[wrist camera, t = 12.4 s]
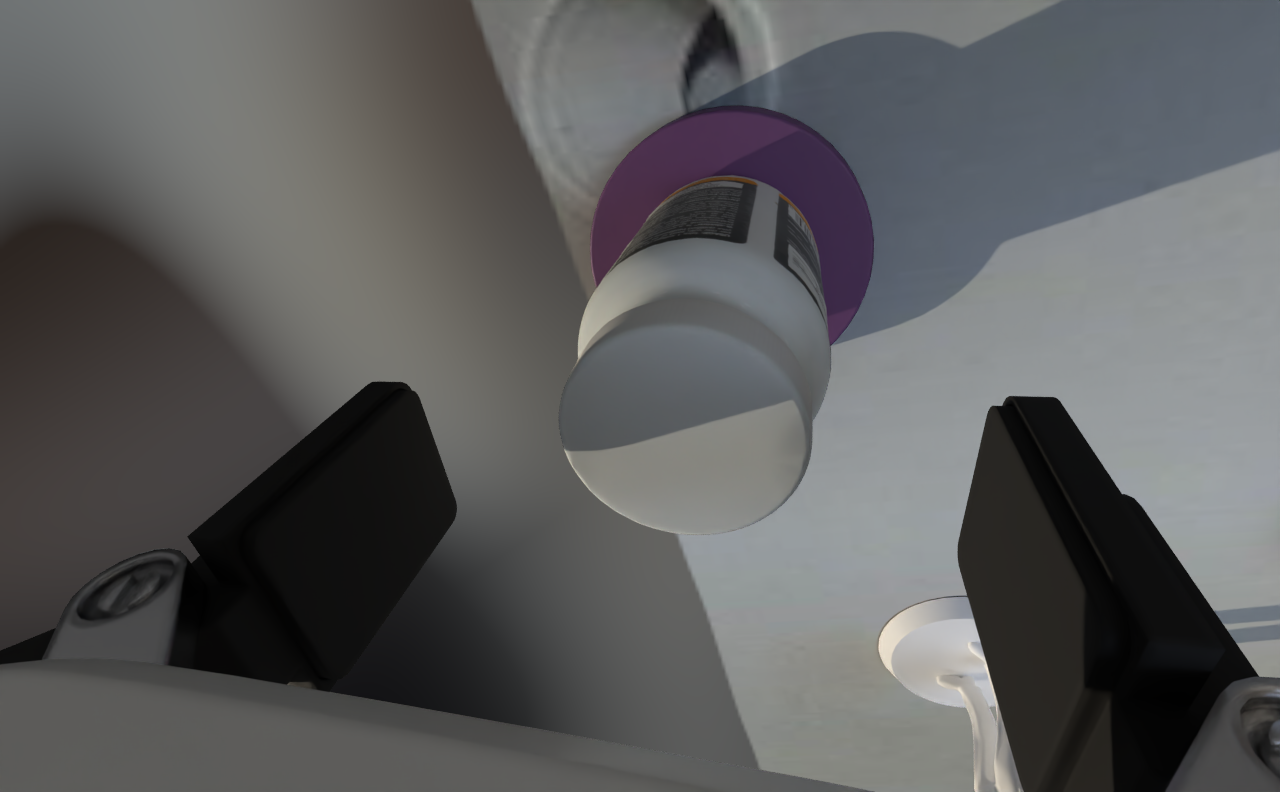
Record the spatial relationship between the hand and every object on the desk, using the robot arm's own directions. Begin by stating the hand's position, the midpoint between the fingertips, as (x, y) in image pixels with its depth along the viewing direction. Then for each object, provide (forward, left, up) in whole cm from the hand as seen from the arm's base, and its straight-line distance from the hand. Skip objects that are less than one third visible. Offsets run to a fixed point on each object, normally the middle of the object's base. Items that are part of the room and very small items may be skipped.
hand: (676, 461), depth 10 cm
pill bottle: (0, 0, -11) cm, 11 cm away
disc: (0, 0, -12) cm, 12 cm away
